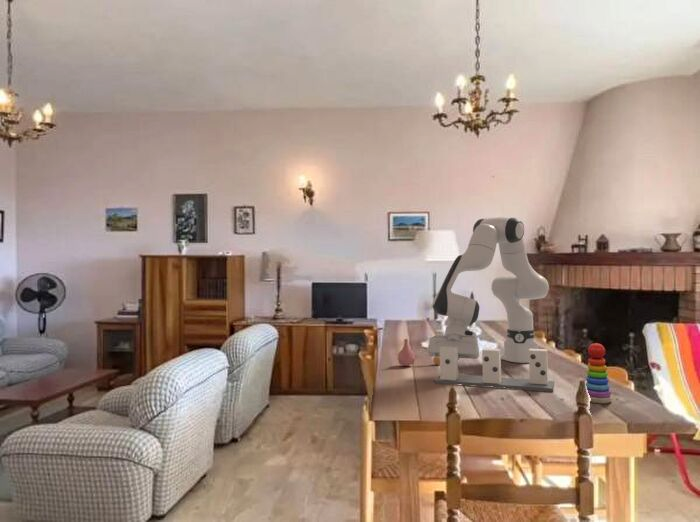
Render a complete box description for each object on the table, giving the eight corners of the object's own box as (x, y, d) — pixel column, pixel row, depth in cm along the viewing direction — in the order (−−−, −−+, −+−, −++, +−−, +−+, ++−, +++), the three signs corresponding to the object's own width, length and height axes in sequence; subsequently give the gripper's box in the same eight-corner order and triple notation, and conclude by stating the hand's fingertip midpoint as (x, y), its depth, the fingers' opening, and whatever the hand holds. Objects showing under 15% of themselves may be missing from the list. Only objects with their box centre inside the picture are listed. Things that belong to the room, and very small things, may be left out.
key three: (530, 380, 189) (529, 348, 189) (548, 382, 187) (547, 349, 187) (529, 383, 185) (528, 350, 185) (547, 384, 183) (546, 351, 183)
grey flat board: (442, 376, 206) (442, 373, 206) (554, 384, 189) (554, 381, 189) (434, 383, 196) (434, 380, 196) (552, 392, 178) (552, 388, 178)
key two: (484, 380, 192) (483, 348, 192) (501, 381, 190) (500, 348, 190) (482, 382, 189) (481, 350, 189) (499, 383, 186) (498, 350, 186)
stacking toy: (581, 397, 170) (579, 341, 170) (606, 397, 170) (604, 341, 170) (589, 404, 163) (588, 345, 163) (616, 404, 162) (614, 345, 162)
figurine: (428, 365, 228) (428, 338, 228) (427, 363, 234) (427, 336, 234) (447, 365, 227) (447, 338, 227) (446, 362, 233) (445, 336, 233)
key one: (442, 377, 199) (442, 346, 199) (458, 378, 197) (457, 347, 197) (440, 379, 195) (439, 348, 195) (455, 380, 193) (455, 348, 193)
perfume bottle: (394, 365, 230) (394, 339, 230) (408, 363, 234) (408, 337, 234) (404, 368, 223) (403, 341, 223) (418, 366, 227) (417, 339, 227)
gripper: (428, 331, 210) (422, 359, 201) (479, 332, 201) (475, 362, 192) (432, 340, 214) (426, 368, 205) (481, 342, 205) (477, 371, 196)
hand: (450, 365), depth 199 cm, fingers closed, pressing on key one
